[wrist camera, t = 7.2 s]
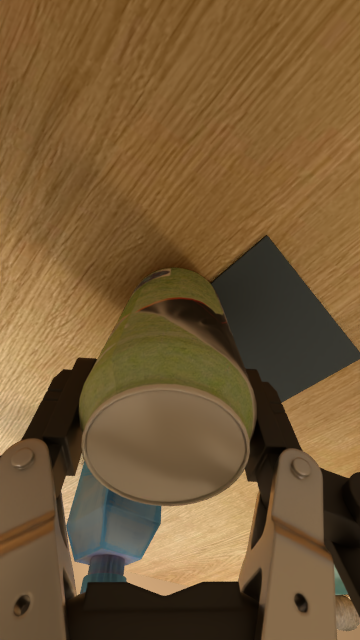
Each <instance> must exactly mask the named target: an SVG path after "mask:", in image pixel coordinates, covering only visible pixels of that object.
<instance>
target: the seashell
mask: <svg viewBox="0 0 360 640" xmlns="http://www.w3.org/2000/svg"><path fill="white" fill-rule="evenodd" d="M335 600H336V626H337V629H339V630H343V631H351V630H354V629H356V628H357V626H358V625H359V624H360V617H359V615H358V613H357V611H356V609H355V607H354V605H353V603H352V601H351V600H350V599H349V598H347V597H346V596H344V595H335Z"/></svg>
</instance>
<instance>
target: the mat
mask: <svg viewBox="0 0 360 640" xmlns="http://www.w3.org/2000/svg"><path fill="white" fill-rule="evenodd" d="M210 284H211V285H212V287H213V288H214V289H215V291H216V293H217V295H218V298H219V301H220V303H221V306H222V308H223V311H224V314H225V316H226V319H227V322H228V324H229V327H230V330H231V332H232V335H233V338H234V340H235V343H236V346H237V348H238V351H239V354H240V356H241V359H242V361H243V364H244V367H245V368H247V369H256V370H257V371H258V373H259V375H260V378H261V380H262V382H269V383H270V384H271V386H272V387H273V388H274V389H275V390H276V391H277V393H278V396H279V398H280V400H281V403H282V402H284V401H285V400H287V399H289V398H291V397H292V396H294V395H296V394H298V393H300V392H301V391H303V390H305V389H307V388H309V387H310V386H312V385H314V384H316V383H318V382H319V381H321V380H323V379H325V378H327V377H328V376H330V375H332V374H334V373H336V372H337V371H339V370H341V369H343V368H345V367H346V366H348V365H350V364H352V363H354V362H355V361H357V360H359V359H360V352H359V351H358V350H357V348H356V347H355V346H354V345H353V343H352V342H351V341H350V339H349V338H348V337H347V336H346V334H345V333H344V332H343V331H342V329H341V328H340V327H339V326H338V324H337V323H336V322H335V321H334V319H333V318H332V317H331V315H330V314H329V313H328V312H327V310H326V309H325V308H324V307H323V305H322V304H321V303H320V302H319V300H318V299H317V298H316V296H315V295H314V294H313V293H312V291H311V290H310V289H309V288H308V286H307V285H306V284H305V283H304V281H303V280H302V279H301V278H300V276H299V275H298V274H297V272H296V271H295V270H294V269H293V267H292V266H291V265H290V264H289V262H288V261H287V260H286V259H285V257H284V256H283V255H282V253H281V252H280V251H279V250H278V248H277V247H276V246H275V245H274V243H273V242H272V241H271V240H270V238H269V237H268V236H267V235H266V236H265V237H264V238H263V239H262V240H260V241H259V242H258V243H257V244H256V245H255V246H253V247H252V248H251V249H250V250H249V251H248V252H247V253H245V254H244V255H243V256H242V257H241V258H240V259H238V260H237V261H236V262H235V263H234V264H233V265H231V266H230V267H229V268H228V269H227V270H226V271H224V272H223V273H222V274H221V275H220V276H219V277H217V278H216V279H215V280H214V281H213V282H212V283H210Z"/></svg>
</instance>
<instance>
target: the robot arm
mask: <svg viewBox="0 0 360 640" xmlns="http://www.w3.org/2000/svg"><path fill="white" fill-rule="evenodd" d="M96 361H97V359H93V358H78V359H77V360H76V362H75V365H74V367H73V369H72V370H66V369H63V370H62V371H61V372H60V373H59V374H58V375H57V376H56V377H54V378H53V380H52V382H51V384H50V386H49V388H48V391H47V392H46V394H45V396H44V398H43V401H42V402H41V403H40V405H39V407H38V409H37V411H36V413H35V415H34V417H33V419H32V421H31V423H30V425H29V427H28V429H27V430H26V432H25V434H24V436H23V438H22V439H21V440H20V441H19V442H17V443H15V444H14V445H12V446H11V447H9V448H8V449H7V450H6V451H5V452H4V453H3V454H2V455H1V456H0V640H337V626H336V600H335V575H334V566H335V568H336V570H337V572H338V574H339V576H340V578H341V580H342V582H343V584H344V586H345V588H346V590H347V592H348V595H349V597H350V599H351V601H352V603H353V605H354V607H355V609H356V611H357V613H358V615H359V617H360V472H358V473H355V474H353V475H352V476H351V477H350V478H346V477H343V476H340V475H338V474H335V473H332V472H329V471H326V470H324V469H322V468H320V467H319V466H318V464H317V463H316V462H315V460H314V459H313V458H312V457H311V456H309V455H308V454H307V453H305V452H303V451H302V449H301V447H300V445H299V442H298V440H297V438H296V435H295V433H294V431H293V428H292V426H291V424H290V421H289V419H288V417H287V414H286V413H285V410H284V407H283V405H282V404H281V400H280V398H279V396H278V393H277V391H276V390H275V389H274V388H273V387H272V386H271V384H270V383H269V382H262V380H261V378H260V375H259V373H258V371H257V370H256V369H247V368H245V369H246V372H247V375H248V377H249V380H250V383H251V385H252V388H253V391H254V395H255V399H256V403H257V420H256V425H255V430H254V434H253V436H252V439H251V441H250V453H249V458H248V463H247V465H246V467H245V471H246V476H247V480H248V481H251V482H257V483H258V487H259V493H258V495H257V499H256V505H255V510H254V516H253V521H252V526H251V532H250V537H249V542H248V548H247V552H246V555H245V559H244V561H243V564H242V567H241V571H240V575H239V579H238V582H201V583H199V584H196V585H193V586H191V587H188V588H186V589H183V590H181V591H178V592H176V593H173V594H171V595H167V596H162V595H159V594H156V593H153V592H151V591H148V590H146V589H143V588H141V587H138V586H135V585H133V584H130V583H128V582H88V583H87V588H86V592H84V593H82V594H79V595H76V587H75V580H74V574H73V568H72V563H71V558H70V552H69V546H68V539H67V531H66V524H65V516H64V508H63V501H62V493H61V489H62V486H63V483H64V479H65V476H75V473H76V470H77V467H78V463H79V460H80V457H81V453H82V447H81V446H82V435H83V433H82V430H81V426H80V420H79V400H80V396H81V392H82V389H83V386H84V383H85V381H86V379H87V378H88V376H89V374H90V372H91V370H92V368H93V366H94V365H95V363H96ZM324 545H325V546H324ZM325 547H326V548H325ZM326 549H327V550H326Z"/></svg>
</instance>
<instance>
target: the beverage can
mask: <svg viewBox="0 0 360 640" xmlns="http://www.w3.org/2000/svg"><path fill="white" fill-rule="evenodd" d="M79 420H80V426H81V430H82V433H83V435H82V446H81V447H82V453H83V458H84V460H85V463H86V465H87V467H88V469H89V470H90V472H91V473H92V474H93V476H94V477H95V478H96V479H97V480H98V481H99V482H100V483H101V484H102V485H104V486H105V487H106V488H108V489H109V490H111V491H112V492H114V493H116V494H118V495H120V496H122V497H124V498H127V499H130V500H132V501H136V502H140V503H144V504H149V505H157V506H179V505H187V504H192V503H197V502H200V501H203V500H207V499H209V498H211V497H213V496H216V495H218V494H220V493H221V492H223V491H224V490H226V489H227V488H229V487H230V486H231V485H232V484H233V483H234V482H235V481H236V480H237V479H238V478H239V477H240V475H241V474H242V473H243V471H244V469H245V467H246V465H247V463H248V458H249V453H250V441H251V439H252V436H253V434H254V430H255V425H256V420H257V403H256V399H255V395H254V391H253V388H252V385H251V383H250V380H249V377H248V375H247V372H246V369H245V367H244V364H243V361H242V359H241V356H240V354H239V351H238V348H237V346H236V343H235V340H234V338H233V335H232V332H231V330H230V327H229V324H228V322H227V319H226V316H225V314H224V311H223V308H222V306H221V303H220V301H219V298H218V295H217V293H216V291H215V289H214V288H213V287H212V285H211V284H210V283H209V282H208V281H207V280H206V279H205V278H204V277H202V276H201V275H199V274H198V273H196V272H193V271H191V270H188V269H183V268H166V269H161V270H158V271H155V272H153V273H152V274H150V275H148V276H147V277H145V278H144V279H143V280H142V281H141V282H140V283H139V284H138V285H137V287H136V288H135V290H134V292H133V293H132V295H131V297H130V299H129V301H128V303H127V305H126V307H125V308H124V310H123V312H122V314H121V316H120V318H119V320H118V322H117V323H116V325H115V327H114V329H113V331H112V333H111V335H110V336H109V338H108V340H107V342H106V344H105V346H104V348H103V350H102V351H101V353H100V355H99V357H98V359H97V361H96V363H95V365H94V366H93V368H92V370H91V372H90V374H89V376H88V378H87V379H86V381H85V383H84V386H83V389H82V392H81V396H80V400H79Z"/></svg>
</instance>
